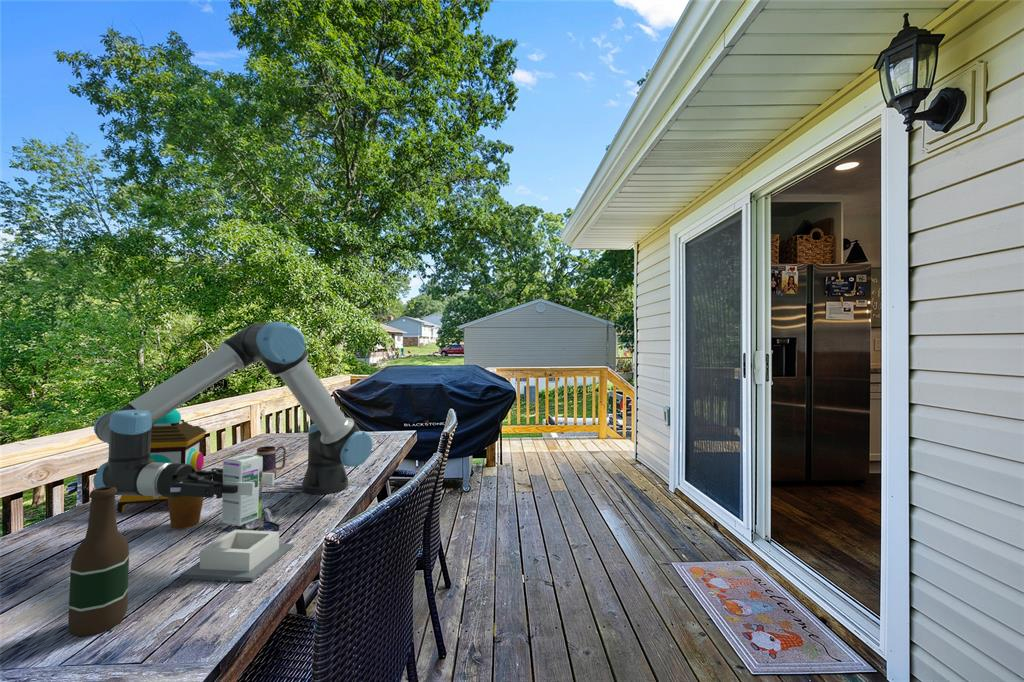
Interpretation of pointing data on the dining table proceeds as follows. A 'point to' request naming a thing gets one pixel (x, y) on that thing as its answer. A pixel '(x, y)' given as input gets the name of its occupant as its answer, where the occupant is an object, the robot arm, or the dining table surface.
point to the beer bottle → (99, 570)
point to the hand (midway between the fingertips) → (263, 483)
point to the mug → (270, 458)
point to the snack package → (266, 522)
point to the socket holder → (238, 556)
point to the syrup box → (242, 506)
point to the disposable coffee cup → (184, 511)
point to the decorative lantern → (171, 450)
